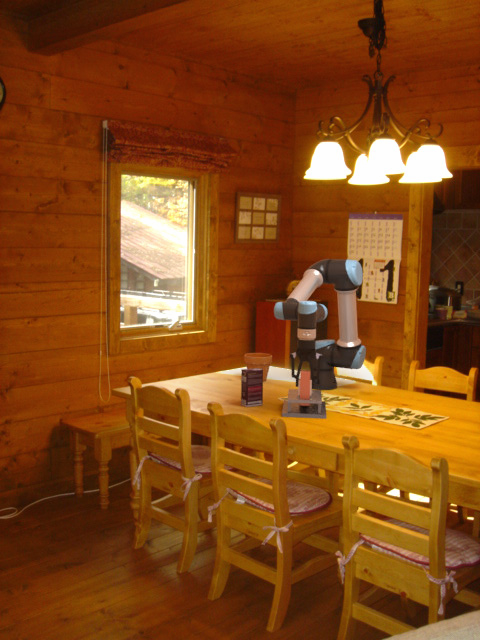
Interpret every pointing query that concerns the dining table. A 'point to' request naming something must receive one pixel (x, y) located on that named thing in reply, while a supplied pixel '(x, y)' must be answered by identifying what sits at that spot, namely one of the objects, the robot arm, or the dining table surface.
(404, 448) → the dining table surface
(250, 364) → the flower pot
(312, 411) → the grey stand
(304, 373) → the pink rectangular block
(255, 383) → the supplement box
